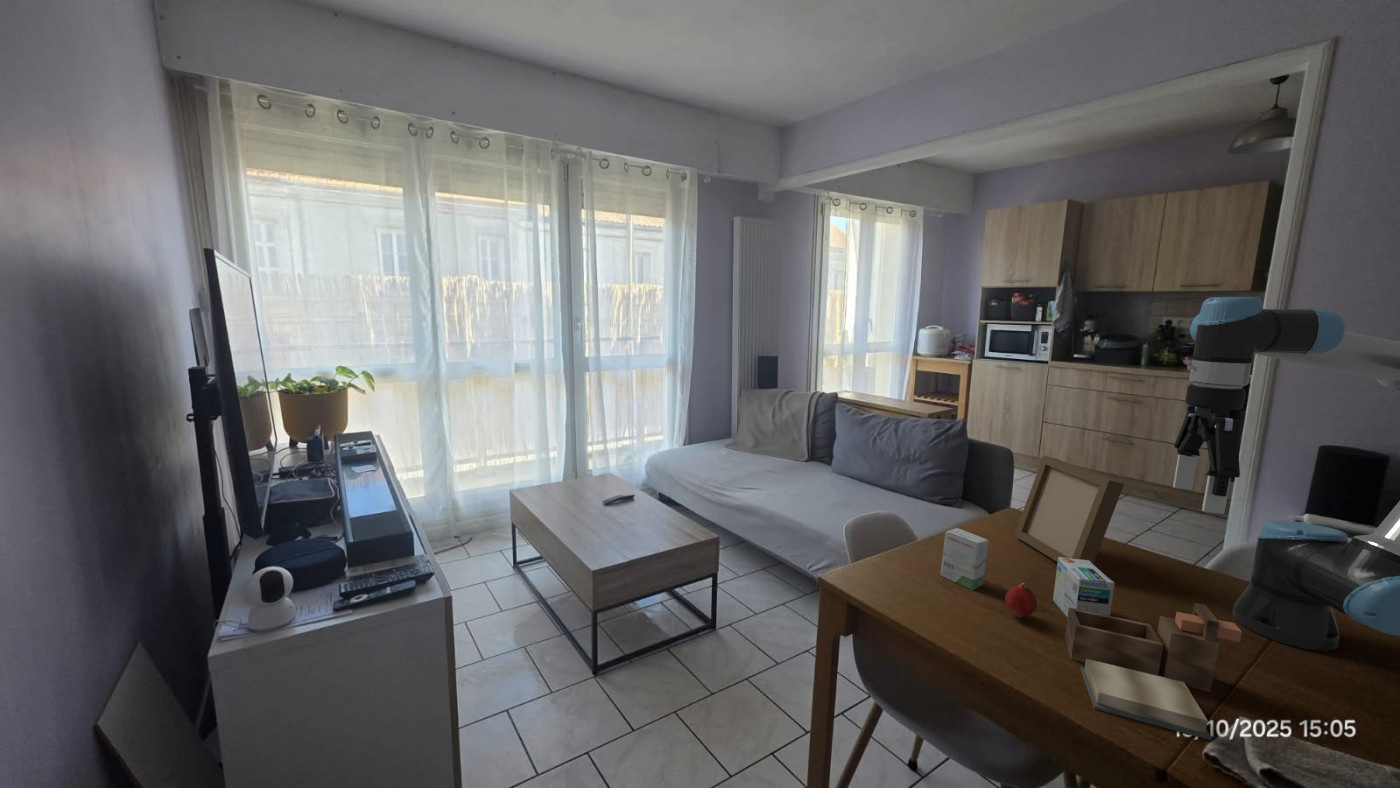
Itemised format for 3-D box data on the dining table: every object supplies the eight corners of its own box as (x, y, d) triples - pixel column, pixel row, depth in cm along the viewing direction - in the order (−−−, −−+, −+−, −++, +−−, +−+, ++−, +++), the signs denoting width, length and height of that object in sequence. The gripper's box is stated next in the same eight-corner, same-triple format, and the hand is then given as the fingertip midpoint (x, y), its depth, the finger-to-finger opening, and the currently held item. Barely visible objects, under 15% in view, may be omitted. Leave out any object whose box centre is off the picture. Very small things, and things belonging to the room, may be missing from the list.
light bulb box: (1109, 631, 111) (1116, 583, 109) (1073, 626, 112) (1079, 579, 111) (1083, 603, 121) (1090, 559, 120) (1051, 599, 123) (1056, 556, 121)
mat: (1183, 694, 93) (1184, 692, 93) (1211, 740, 83) (1211, 737, 83) (1080, 669, 99) (1080, 666, 99) (1094, 708, 89) (1094, 706, 89)
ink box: (939, 575, 133) (943, 531, 131) (951, 570, 136) (955, 526, 134) (973, 591, 126) (978, 544, 124) (984, 584, 129) (989, 538, 127)
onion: (998, 609, 119) (1002, 575, 117) (1024, 609, 118) (1028, 576, 117) (1012, 624, 113) (1017, 589, 111) (1040, 625, 113) (1045, 590, 111)
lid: (1182, 693, 92) (1184, 682, 92) (1205, 733, 84) (1207, 720, 83) (1084, 669, 98) (1086, 658, 98) (1096, 704, 90) (1098, 692, 89)
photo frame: (1073, 576, 134) (1088, 480, 130) (1013, 538, 155) (1024, 455, 151) (1127, 574, 135) (1143, 479, 131) (1060, 537, 157) (1072, 455, 153)
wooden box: (1195, 669, 99) (1207, 604, 97) (1211, 693, 93) (1224, 624, 91) (1064, 639, 108) (1072, 578, 106) (1071, 659, 102) (1080, 595, 100)
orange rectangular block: (1232, 633, 95) (1234, 623, 94) (1239, 642, 92) (1242, 631, 92) (1174, 621, 98) (1176, 611, 98) (1180, 629, 96) (1182, 619, 95)
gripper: (1164, 375, 107) (1148, 477, 111) (1220, 393, 85) (1198, 519, 88) (1213, 378, 104) (1195, 482, 108) (1284, 397, 82) (1259, 528, 85)
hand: (1196, 499), depth 98 cm, fingers open, 13 cm apart
